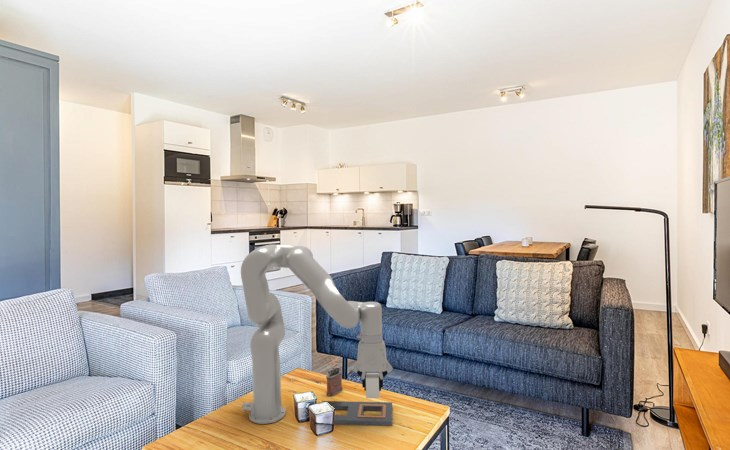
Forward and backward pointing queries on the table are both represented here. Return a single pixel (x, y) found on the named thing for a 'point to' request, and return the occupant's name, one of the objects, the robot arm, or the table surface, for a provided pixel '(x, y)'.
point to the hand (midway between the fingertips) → (372, 388)
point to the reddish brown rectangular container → (334, 381)
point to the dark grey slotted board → (357, 410)
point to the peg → (372, 385)
